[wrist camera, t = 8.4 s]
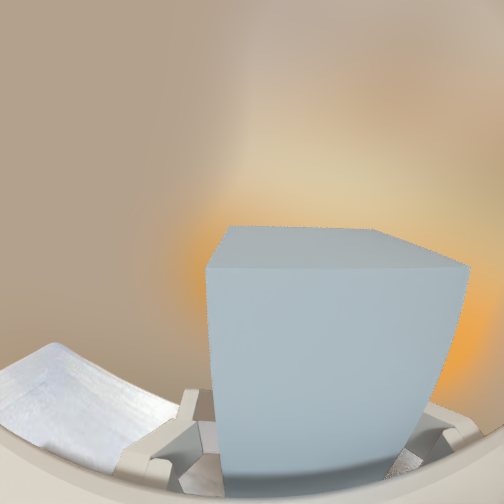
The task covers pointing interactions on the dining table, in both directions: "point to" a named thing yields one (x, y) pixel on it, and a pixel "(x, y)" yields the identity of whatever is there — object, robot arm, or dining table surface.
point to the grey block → (323, 353)
